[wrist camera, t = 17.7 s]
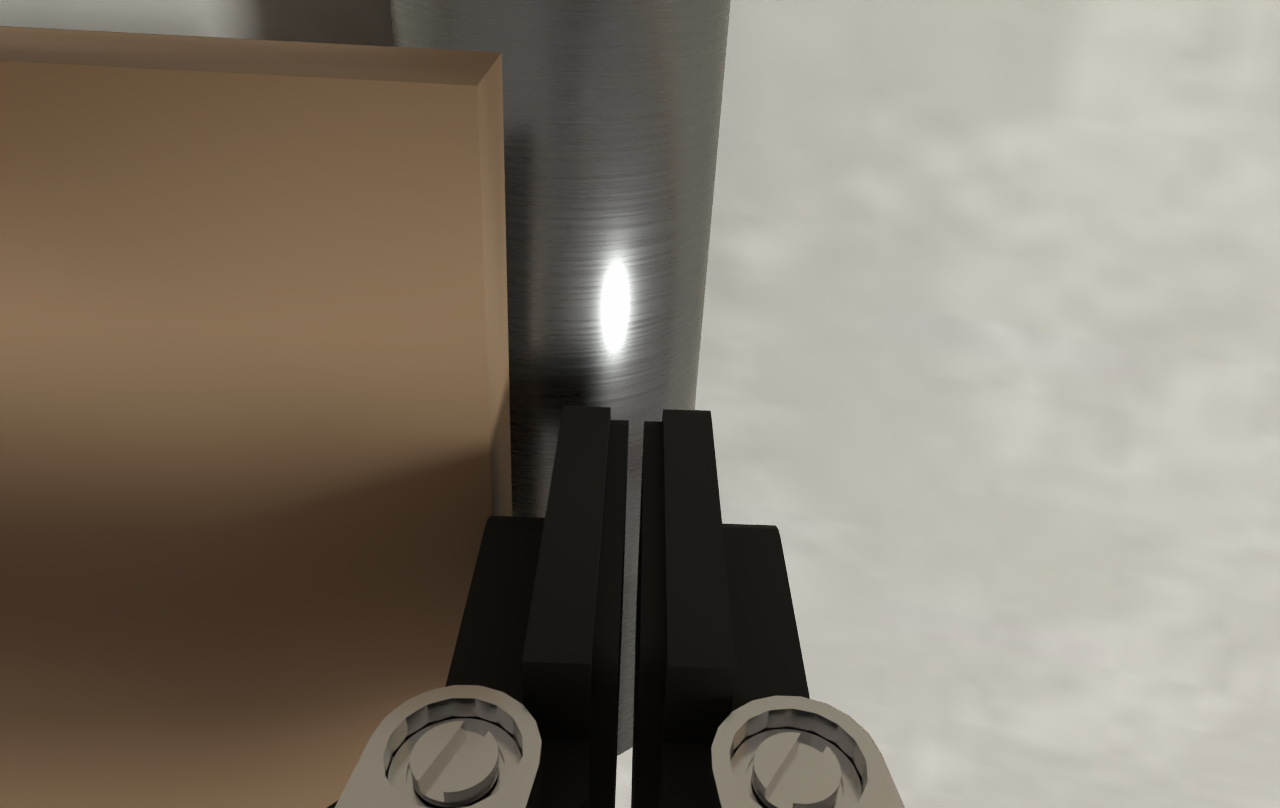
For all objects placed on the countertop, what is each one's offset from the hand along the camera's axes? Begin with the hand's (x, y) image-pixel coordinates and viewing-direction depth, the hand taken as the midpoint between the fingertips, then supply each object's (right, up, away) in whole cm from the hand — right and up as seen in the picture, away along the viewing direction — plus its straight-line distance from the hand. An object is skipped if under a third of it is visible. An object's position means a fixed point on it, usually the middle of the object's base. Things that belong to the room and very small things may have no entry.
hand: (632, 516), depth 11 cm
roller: (-1, +2, +3) cm, 3 cm away
